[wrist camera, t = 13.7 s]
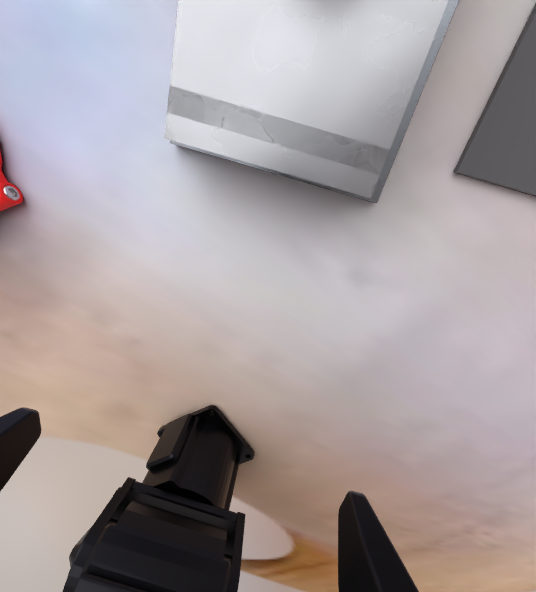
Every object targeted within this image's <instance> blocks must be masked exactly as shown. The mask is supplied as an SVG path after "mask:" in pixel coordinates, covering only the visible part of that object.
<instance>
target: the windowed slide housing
mask: <svg viewBox="0 0 536 592" xmlns="http://www.w3.org/2000/svg"><path fill="white" fill-rule="evenodd" d="M458 1H459V0H178V10H177V20H176V30H175V40H174V50H173V59H172V69H171V79H170V89H169V99H168V108H167V118H166V128H165V139H169V140H170V143H172V144H175V145H179V146H182V147H186V148H189V149H192V150H196V151H199V152H203V153H206V154H210V155H213V156H216V157H220V158H223V159H227V160H230V161H234V162H237V163H240V164H244V165H247V166H251V167H254V168H258V169H261V170H264V171H268V172H271V173H275V174H278V175H282V176H285V177H288V178H292V179H295V180H299V181H302V182H306V183H309V184H312V185H316V186H319V187H323V188H326V189H330V190H333V191H336V192H340V193H343V194H347V195H350V196H354V197H357V198H361V199H364V200H367V201H371V202H374V203H377V201H378V199H379V196H380V194H381V191H382V189H383V187H384V184H385V182H386V179H387V177H388V174H389V172H390V169H391V167H392V164H393V162H394V159H395V157H396V154H397V152H398V149H399V147H400V145H401V142H402V140H403V137H404V135H405V132H406V130H407V127H408V125H409V122H410V120H411V117H412V115H413V112H414V110H415V107H416V105H417V103H418V100H419V98H420V95H421V93H422V90H423V88H424V85H425V83H426V80H427V78H428V75H429V73H430V70H431V68H432V65H433V63H434V61H435V58H436V56H437V53H438V51H439V48H440V46H441V43H442V41H443V38H444V36H445V33H446V31H447V28H448V26H449V23H450V21H451V19H452V16H453V14H454V11H455V9H456V6H457V4H458Z"/></svg>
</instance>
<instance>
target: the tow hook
mask: <svg viewBox="0 0 536 592" xmlns="http://www.w3.org/2000/svg"><path fill="white" fill-rule="evenodd" d="M1 169H2V158H1V151H0V211H2V210H5V209H7V208H10V207H12V206H15V205H17V204H20V203H21V202H22V201H23V195H22V193H21V191H20V190H19V189H18V188H17V187H16V186H15V185H13V184H11V183H9V182H7V180H6V178H5V176H4V174H3V173H2V171H1Z"/></svg>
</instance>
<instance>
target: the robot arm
mask: <svg viewBox="0 0 536 592" xmlns="http://www.w3.org/2000/svg"><path fill="white" fill-rule="evenodd" d="M211 411H213V412H211ZM40 434H41V424H40V417H39V413H38V411H36V410H33V409H29V408H19V409H17V410H15V411H12V412H10V413H8V414H6V415H3V416H1V417H0V491H1V489H3V487H4V486H5V484H6V483H7V482H8V480H9V479H10V478H11V476H12V475H13V473H14V472H15V471H16V469H17V468H18V466H19V465H20V463H21V462H22V461H23V459H24V458H25V457H26V455H27V454H28V453H29V451H30V450H31V448H32V447H33V446H34V444H35V442H36V441H37V440H38V438H39V436H40ZM157 434H158V436H159V437H160V439H159V441H158V443H157V445H156V447H155V448H154V450H153V452H152V454H151V456H150V458H149V460H148V462H147V465H146V468H147V469H148V470H149V471H148V473H147V475H146V477H145V479H144V481H143V483H140V482H137V481H136V480H135V479H133V478H129V477H128V478H127V480H126V481H125V483H124V484H123V486H122V487H121V488H118V490H116V492H115V494H114V495H113V497H112V499H111V500H110V502H109V503H108V504H107V506H106V507H105V509H104V510H103V512H102V513H101V515H100V516H99V517H98V519H97V520H96V522H95V523H94V525H93V526H92V527H91V528H90V529H89V530H88V531H87V533H86V534H85V535H84V536H83V537H82V538H81V539H80V541H79V542H78V543H77V544H76V545H75V547H74V548H73V550H72V552H71V554H70V556H69V560H70V566H71V569H70V571H69V574H68V578H67V581H66V583H65V586H64V589H63V592H237V590H238V583H239V577H240V567H241V556H242V544H243V534H244V523H245V514H243V513H240V512H238V513H235V512H232V511H229V507H230V502H231V499H232V494H233V489H234V485H235V480H236V476H237V471H238V466H239V464H241V463H244V462H247V461H249V460H252V459H253V458H254V451H253V449H252V448H251V447H250V446H249V445H248V443H247V442H246V441H245V440H244V439H243V438H242V436H241V435H240V434H239V433H238V432H237V430H236V429H235V428H234V427H233V426H232V424H231V423H230V422H229V421H228V420H227V419H226V417H225V416H224V415H223V414H222V413H221V411H220V410H219V409H218V408H217V407H216V406H213V405H211V406H208V407H205V408H203V409H201V410H199V411H196V412H194V413H192V414H187V415H185V416H183V417H181V418H178V419H176V420H174V421H172V422H169V423H168V424H167V425H165V426H163V427H161V428H160V429H159V431H158V433H157ZM338 585H339V592H419V591H418V589H417V587H416V586H415V584H414V582H413V580H412V578H411V577H410V575H409V573H408V571H407V569H406V568H405V566H404V564H403V562H402V561H401V559H400V557H399V555H398V553H397V552H396V550H395V548H394V546H393V544H392V543H391V541H390V539H389V537H388V536H387V534H386V532H385V530H384V528H383V527H382V525H381V523H380V521H379V519H378V518H377V516H376V514H375V512H374V511H373V509H372V507H371V505H370V503H369V502H368V500H367V498H366V497H365V495H363V494H362V493H358V492H354V491H349V492H348V493H347V495H346V497H345V499H344V501H343V502H342V504H341V506H340V509H339V515H338Z"/></svg>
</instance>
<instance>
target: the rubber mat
mask: <svg viewBox="0 0 536 592" xmlns="http://www.w3.org/2000/svg"><path fill="white" fill-rule="evenodd" d="M454 172H455V173H459V174H462V175H466V176H469V177H472V178H476V179H479V180H483V181H486V182H489V183H493V184H496V185H500V186H503V187H507V188H510V189H513V190H517V191H520V192H524V193H527V194H530V195H534V196H536V5H535V7H534V9H533V11H532V13H531V15H530V17H529V19H528V21H527V23H526V25H525V27H524V29H523V31H522V33H521V35H520V37H519V39H518V41H517V43H516V45H515V47H514V49H513V51H512V54H511V56H510V58H509V60H508V62H507V64H506V66H505V68H504V70H503V72H502V74H501V76H500V78H499V80H498V82H497V84H496V86H495V88H494V90H493V92H492V94H491V96H490V98H489V100H488V103H487V105H486V107H485V109H484V111H483V113H482V115H481V117H480V119H479V121H478V123H477V125H476V127H475V129H474V131H473V133H472V135H471V137H470V139H469V141H468V143H467V145H466V147H465V150H464V152H463V154H462V156H461V158H460V160H459V162H458V164H457V166H456V168H455V170H454Z"/></svg>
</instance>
